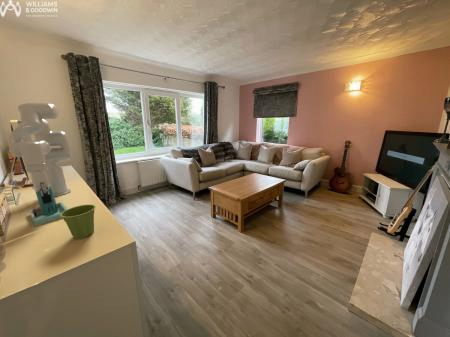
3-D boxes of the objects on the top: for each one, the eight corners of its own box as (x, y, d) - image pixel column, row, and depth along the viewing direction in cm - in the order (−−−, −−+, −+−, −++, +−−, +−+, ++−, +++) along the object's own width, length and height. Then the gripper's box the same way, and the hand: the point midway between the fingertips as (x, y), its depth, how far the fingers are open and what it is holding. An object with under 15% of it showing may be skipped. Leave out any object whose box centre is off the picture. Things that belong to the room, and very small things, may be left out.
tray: (31, 215, 101) (29, 210, 100) (62, 206, 110) (61, 202, 109) (35, 227, 88) (33, 221, 88) (70, 216, 98) (69, 211, 97)
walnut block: (34, 214, 100) (32, 207, 99) (44, 211, 103) (42, 204, 102) (37, 216, 98) (35, 209, 97) (47, 213, 101) (45, 206, 100)
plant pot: (103, 233, 81) (98, 209, 78) (68, 246, 73) (61, 220, 70) (97, 223, 89) (92, 201, 87) (65, 234, 81) (58, 210, 79)
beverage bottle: (49, 219, 94) (38, 181, 89) (38, 218, 96) (27, 180, 91) (62, 213, 100) (53, 177, 96) (52, 212, 102) (42, 176, 97)
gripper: (24, 167, 94) (34, 198, 98) (27, 171, 83) (38, 207, 87) (44, 164, 100) (53, 194, 104) (50, 168, 89) (59, 202, 93)
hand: (46, 200), depth 96 cm, fingers open, 9 cm apart
